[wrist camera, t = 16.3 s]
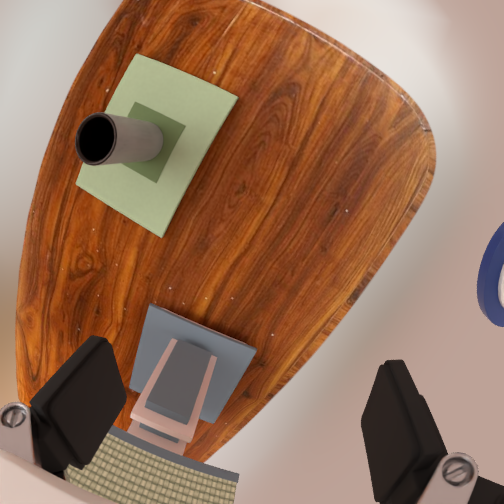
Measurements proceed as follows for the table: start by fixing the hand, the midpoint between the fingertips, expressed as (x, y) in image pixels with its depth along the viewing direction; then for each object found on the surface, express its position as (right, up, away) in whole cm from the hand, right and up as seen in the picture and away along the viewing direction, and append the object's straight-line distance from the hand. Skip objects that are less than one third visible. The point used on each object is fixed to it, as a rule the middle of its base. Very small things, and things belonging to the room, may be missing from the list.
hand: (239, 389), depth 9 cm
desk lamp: (-8, -11, +31) cm, 34 cm away
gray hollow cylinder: (-11, +17, +21) cm, 30 cm away
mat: (-11, +17, +22) cm, 30 cm away
